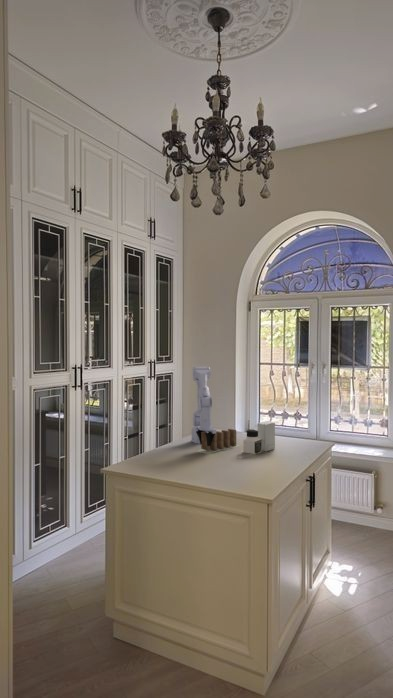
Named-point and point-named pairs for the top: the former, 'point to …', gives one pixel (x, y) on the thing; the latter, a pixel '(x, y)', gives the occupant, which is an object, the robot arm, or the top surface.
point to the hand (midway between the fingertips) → (205, 444)
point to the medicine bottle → (252, 442)
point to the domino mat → (217, 449)
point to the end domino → (204, 441)
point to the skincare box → (267, 435)
